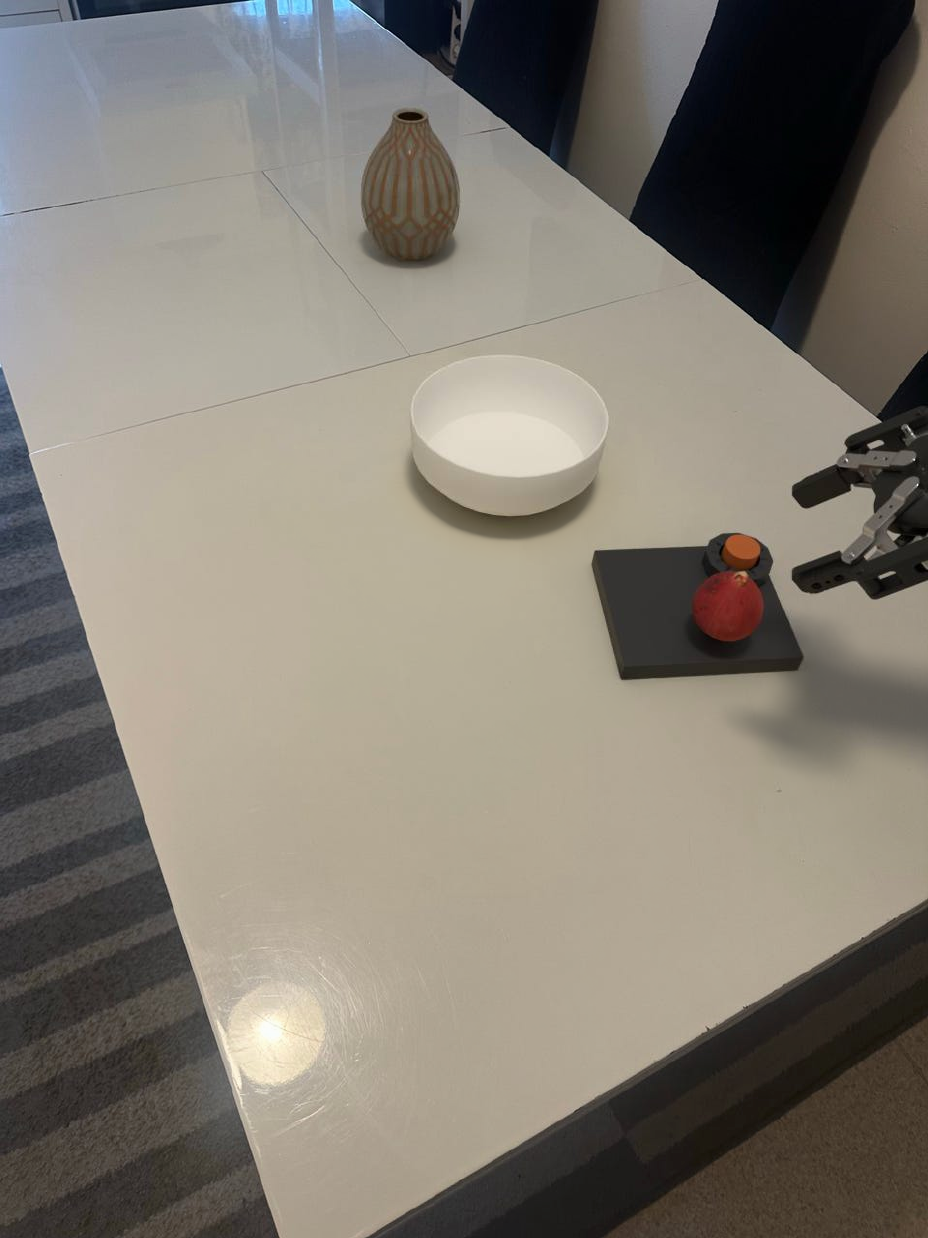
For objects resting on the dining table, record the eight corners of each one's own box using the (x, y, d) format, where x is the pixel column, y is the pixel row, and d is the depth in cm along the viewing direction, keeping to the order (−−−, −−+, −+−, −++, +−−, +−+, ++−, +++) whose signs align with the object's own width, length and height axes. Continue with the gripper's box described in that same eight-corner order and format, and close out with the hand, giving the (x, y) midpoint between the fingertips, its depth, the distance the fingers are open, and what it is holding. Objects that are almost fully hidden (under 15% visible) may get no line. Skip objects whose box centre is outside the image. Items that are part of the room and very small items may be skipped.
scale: (751, 556, 90) (761, 531, 88) (797, 670, 81) (810, 645, 79) (591, 563, 89) (596, 537, 86) (620, 679, 80) (628, 655, 77)
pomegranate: (676, 646, 80) (698, 584, 74) (692, 601, 84) (714, 539, 78) (742, 668, 79) (770, 607, 73) (755, 622, 82) (783, 560, 76)
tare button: (750, 545, 87) (754, 533, 86) (760, 569, 85) (765, 558, 84) (717, 546, 87) (721, 534, 86) (726, 571, 85) (731, 559, 84)
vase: (343, 252, 125) (335, 116, 112) (401, 217, 133) (400, 85, 119) (420, 284, 121) (421, 146, 108) (476, 245, 128) (483, 112, 115)
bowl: (513, 573, 88) (521, 508, 81) (371, 476, 96) (367, 410, 89) (633, 477, 97) (649, 412, 91) (494, 397, 106) (500, 332, 99)
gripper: (1000, 331, 59) (770, 442, 70) (1036, 481, 51) (768, 581, 61) (1045, 409, 63) (820, 503, 73) (1086, 561, 54) (824, 643, 65)
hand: (796, 538), depth 67 cm, fingers open, 8 cm apart
